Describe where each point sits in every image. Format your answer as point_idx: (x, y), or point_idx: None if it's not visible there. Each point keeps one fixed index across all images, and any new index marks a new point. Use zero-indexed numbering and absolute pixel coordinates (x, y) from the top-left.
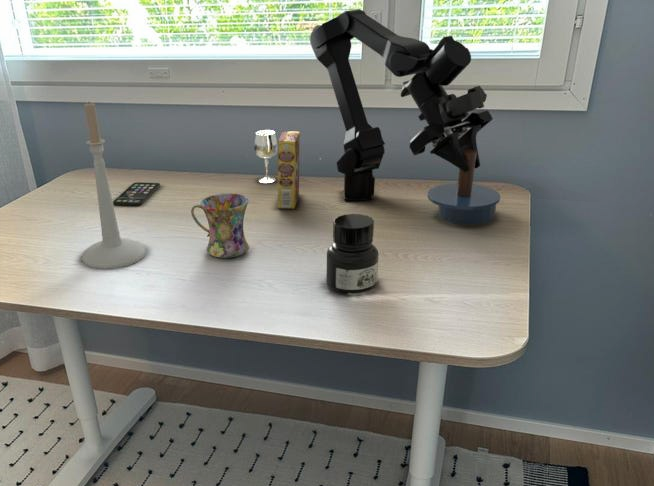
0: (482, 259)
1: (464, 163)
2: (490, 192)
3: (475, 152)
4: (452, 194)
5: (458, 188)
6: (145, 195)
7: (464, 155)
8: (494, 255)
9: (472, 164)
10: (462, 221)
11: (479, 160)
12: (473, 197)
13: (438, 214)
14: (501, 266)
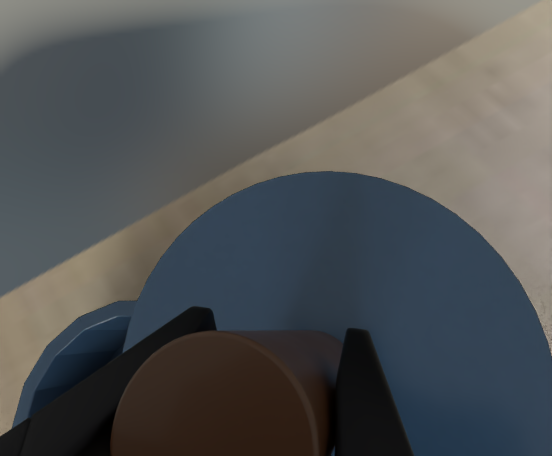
0: (516, 152)
1: (390, 391)
2: (200, 266)
3: (213, 337)
4: None
5: None
6: None
7: (342, 449)
8: (451, 142)
9: (285, 337)
10: None
11: (162, 326)
12: (327, 298)
13: None
14: (521, 76)
